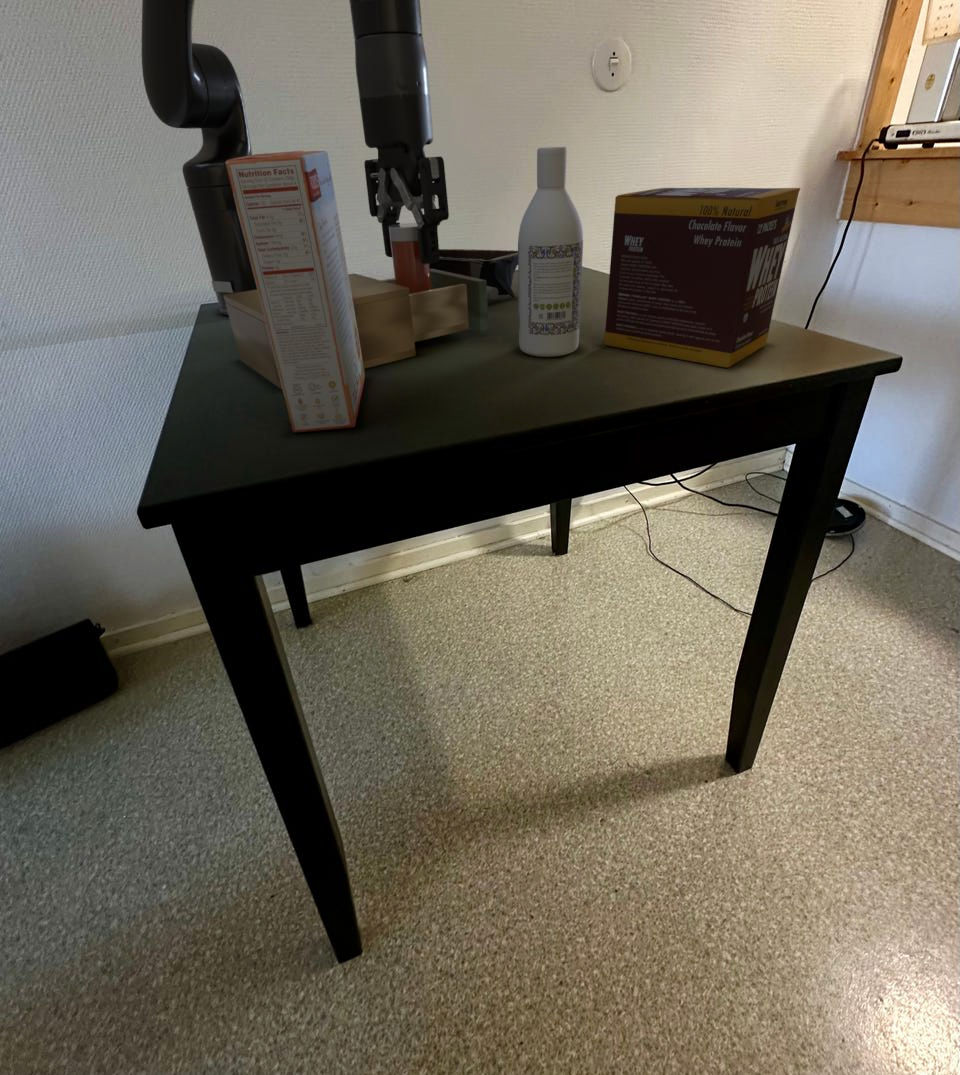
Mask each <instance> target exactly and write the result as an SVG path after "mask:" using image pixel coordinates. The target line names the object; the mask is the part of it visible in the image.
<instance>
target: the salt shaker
mask: <svg viewBox="0 0 960 1075" xmlns="http://www.w3.org/2000/svg"><path fill="white" fill-rule="evenodd" d="M417 228H419V227H418V225H417V223H416V222H407V223H404V222H403V223H400V224H396V225H391V226H389V232H390V240H391V250H392V257H391V259H392V266H393V274H394V275H393V276H394V278H395V284H396V285H399V286H403V287H407V288H409V294H412V293H417V292H422V291H427V290H432V286H431V275H430V264H424V263H422V262H421V261H420V252H419V242H418V231H417Z"/></svg>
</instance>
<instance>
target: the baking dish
mask: <svg viewBox="0 0 960 1075" xmlns="http://www.w3.org/2000/svg"><path fill="white" fill-rule="evenodd" d="M517 267H518V250H514V249H511V250H507V249H504V250H503V249H472V248H471V249H468V248H467V249H466V248H465V249H464V248H449V249H448V248H439V261H438V262H436V263H431V264H430V269H436V270H441V271H445V272H450V273H455V274H459V275H464V276H469V277H473V278H478V279H483V280H486V283H487V286H489V287H494V288H496V289H497V290H498V296H509V297H511V298H514V299H515V296H516V295H515V293H514V290H513V289H512V285H513V280H514V274H515V271H516V269H517Z"/></svg>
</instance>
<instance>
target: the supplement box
mask: <svg viewBox="0 0 960 1075" xmlns="http://www.w3.org/2000/svg"><path fill="white" fill-rule="evenodd" d="M800 190H801V187H660V188H652V189H646V190H645V189H644V190H639V191H633V192H627V193H622V194H618V195H616V196H615V199H614V211H613V224H612V225H613V226H612V236H611V237H612V239H611V252H610V264H609V277H608V292H607V302H606V304H607V305H606V317H605V328H604V338H603V345H604V346H608V347H614V348H619V349H624V350H630V351H633V352H635V351H636V352H641V353H646V354H650V355H657V356H661V357H667V358H672V359H677V360H683V361H688V362H693V363H699V364H704V365H709V366H715V367H720V368H726V369H727V368H730V367H732V366H734V365H735V364H737V363H739V362H740V361H742V360H743V359H745V358H747V357H748V356H750V355H752V354H754V353H755V352H757V351H758V350H759V349H762V348H763V347H764V346H766V345H767V342H768V337H769V332H770V327H771V323H772V318H773V312H774V308H775V303H776V299H777V294H778V290H779V284H780V280H781V276H782V271H783V266H784V262H785V258H786V252H787V248H788V243H789V239H790V234H791V229H792V224H793V222H794V221H793V220H794V216H795V211H796V207H797V202H798V198H799V194H800Z"/></svg>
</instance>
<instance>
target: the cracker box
mask: <svg viewBox="0 0 960 1075" xmlns="http://www.w3.org/2000/svg"><path fill="white" fill-rule="evenodd" d="M225 163H226V169H227V173H228V177H229V180H230V184H231V188H232V192H233V196H234V199H235V204H236V208H237V212H238V216H239V220H240V224H241V228H242V231H243V235H244V239H245V243H246V247H247V251H248V255H249V259H250V263H251V267H252V271H253V274H254V278H255V282H256V286H257V290H258V294H259V298H260V302H261V307H262V311H263V315H264V319H265V322H266V326H267V330H268V334H269V338H270V342H271V346H272V350H273V354H274V358H275V362H276V366H277V370H278V374H279V378H280V382H281V386H282V389H281V390H282V393H283V395H284V396H283V397H284V401H285V404H286V409H287V413H288V418H289V421H290V425H291V429H292V432H293V433H307V432H308V433H309V432H318V431H328V430H329V431H331V430H340V429H351V428H352V429H353V428H355V427H356V424H357V423H356V422H357V417H358V413H359V409H360V403H361V398H362V394H363V388H364V385H365V384H364V383H365V379H366V374H365V373H366V372H365V369H364V365H363V359H362V353H361V347H360V341H359V335H358V329H357V323H356V318H355V312H354V306H353V300H352V294H351V288H350V282H349V276H348V274H349V272H348V271H349V270H348V265H347V260H346V253H345V247H344V241H343V236H342V229H341V223H340V217H339V216H340V215H339V211H338V205H337V200H336V193H335V188H334V181H333V176H332V170H331V164H330V158H329V152H328V151H327V150H309V151H308V150H306V151H305V150H293V151H281V152H280V151H279V152H268V153H267V152H266V153H254V154H252V155H249V156H244V157H239V158H234V159H230V160H227V161H226V162H225Z"/></svg>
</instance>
